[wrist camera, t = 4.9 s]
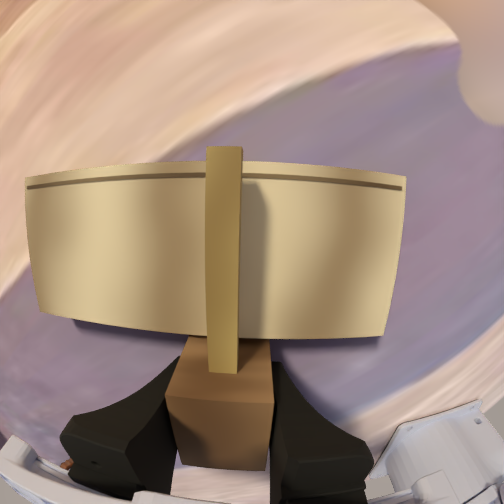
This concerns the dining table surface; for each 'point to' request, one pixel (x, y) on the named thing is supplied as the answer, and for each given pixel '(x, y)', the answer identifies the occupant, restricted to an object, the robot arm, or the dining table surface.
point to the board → (193, 247)
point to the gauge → (222, 346)
